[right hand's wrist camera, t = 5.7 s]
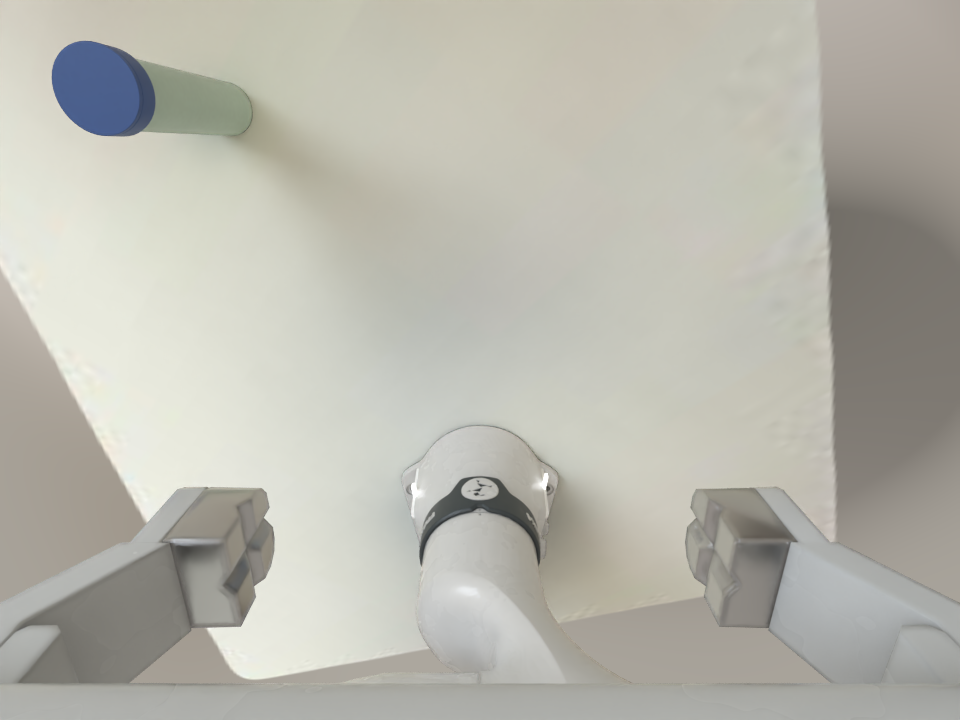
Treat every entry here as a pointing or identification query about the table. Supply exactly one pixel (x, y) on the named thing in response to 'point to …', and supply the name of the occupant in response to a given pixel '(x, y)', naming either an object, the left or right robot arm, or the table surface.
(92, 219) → the table surface
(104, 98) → the lid
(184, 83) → the pale green cylinder
